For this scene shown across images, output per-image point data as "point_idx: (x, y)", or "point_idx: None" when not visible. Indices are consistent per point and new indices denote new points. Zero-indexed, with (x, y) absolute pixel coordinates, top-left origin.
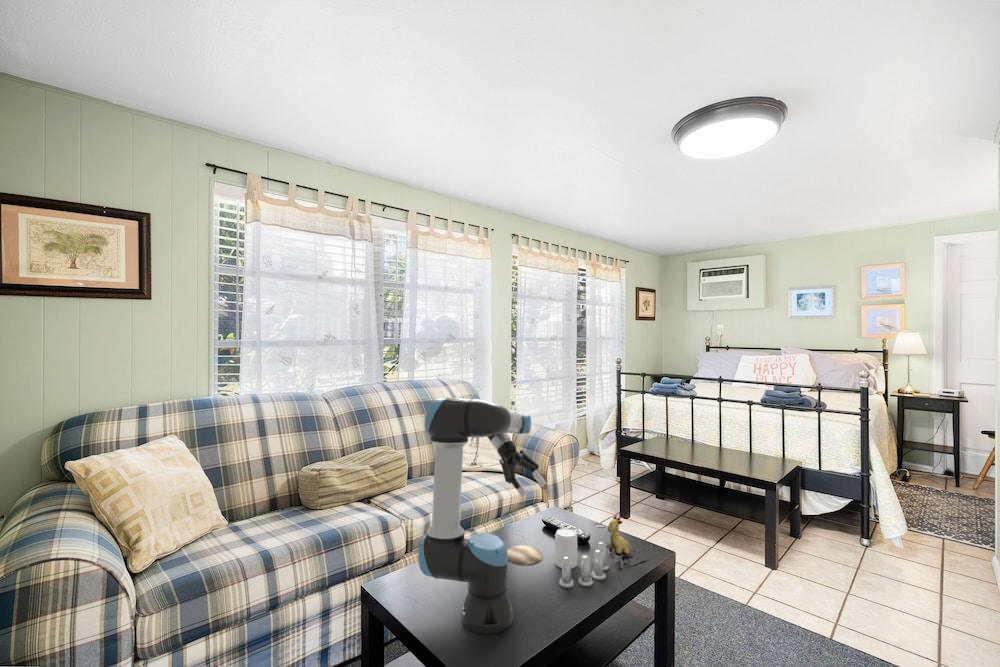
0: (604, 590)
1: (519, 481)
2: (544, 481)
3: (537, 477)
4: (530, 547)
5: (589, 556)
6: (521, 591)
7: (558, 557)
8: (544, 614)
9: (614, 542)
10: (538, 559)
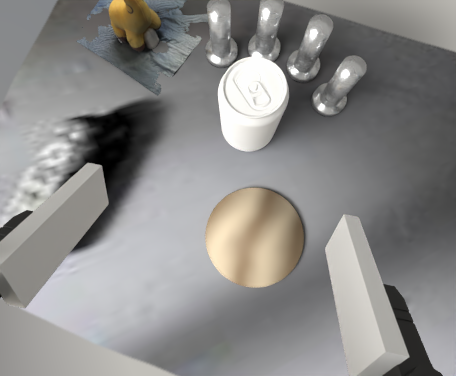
0: None
1: (373, 306)
2: (84, 173)
3: (60, 237)
4: (212, 235)
5: (315, 16)
6: (405, 177)
7: (276, 128)
8: (451, 105)
9: (150, 13)
10: (263, 191)
